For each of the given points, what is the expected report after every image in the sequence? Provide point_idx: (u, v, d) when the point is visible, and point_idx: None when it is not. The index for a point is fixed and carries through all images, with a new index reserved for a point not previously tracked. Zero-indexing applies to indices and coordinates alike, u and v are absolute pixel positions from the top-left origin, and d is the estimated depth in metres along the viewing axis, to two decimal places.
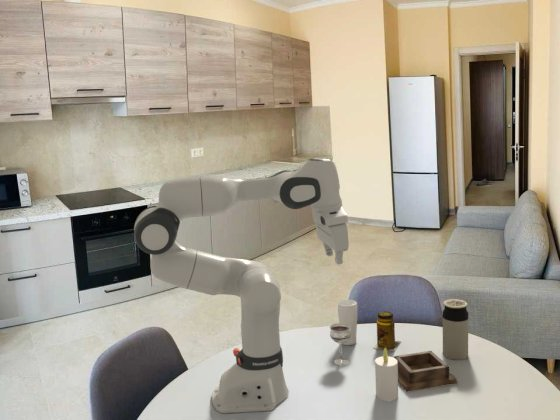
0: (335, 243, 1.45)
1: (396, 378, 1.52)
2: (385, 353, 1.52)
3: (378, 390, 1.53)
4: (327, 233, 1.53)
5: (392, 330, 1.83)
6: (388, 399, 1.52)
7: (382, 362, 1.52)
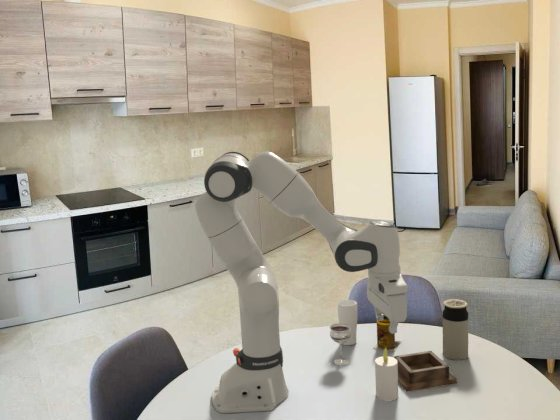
0: (393, 314, 1.40)
1: (396, 378, 1.52)
2: (385, 353, 1.52)
3: (378, 390, 1.53)
4: (383, 300, 1.47)
5: None
6: (388, 399, 1.52)
7: (382, 362, 1.52)
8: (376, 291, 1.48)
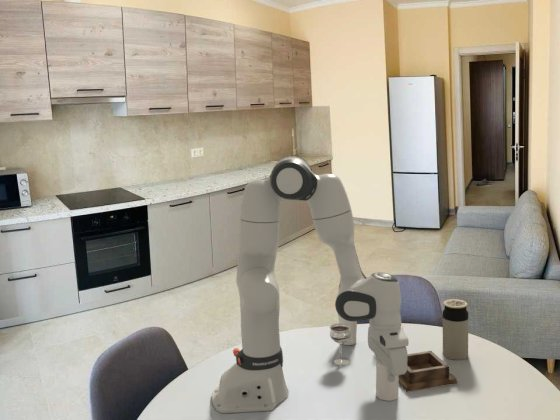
0: (394, 367, 1.43)
1: (397, 378, 1.52)
2: None
3: (378, 390, 1.53)
4: (383, 351, 1.50)
5: None
6: (388, 399, 1.52)
7: None
8: (377, 342, 1.50)
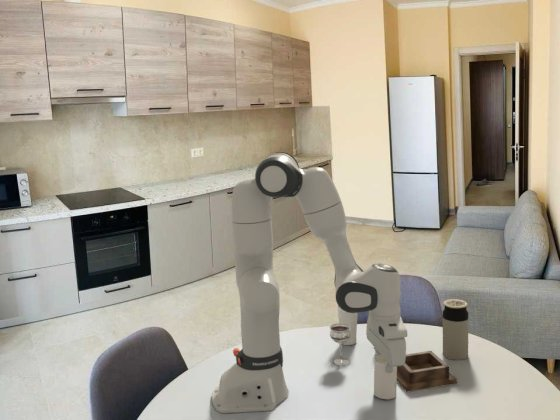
0: (392, 358, 1.42)
1: (395, 377, 1.52)
2: None
3: (376, 388, 1.53)
4: (382, 342, 1.50)
5: None
6: (386, 397, 1.52)
7: (381, 360, 1.52)
8: (376, 333, 1.50)
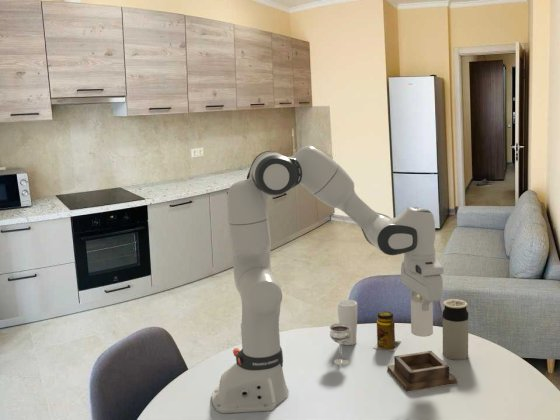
0: (430, 293, 1.49)
1: (431, 315, 1.59)
2: None
3: (413, 327, 1.60)
4: (418, 281, 1.56)
5: (392, 330, 1.83)
6: (424, 335, 1.59)
7: (418, 300, 1.59)
8: (412, 273, 1.57)
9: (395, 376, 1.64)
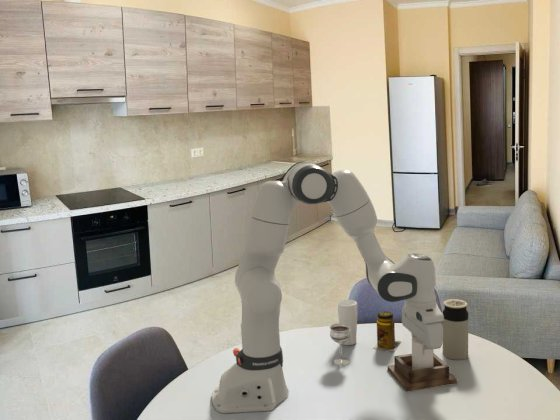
0: (430, 341, 1.52)
1: (432, 355, 1.61)
2: None
3: (414, 367, 1.62)
4: (419, 327, 1.59)
5: (392, 330, 1.83)
6: None
7: (418, 340, 1.61)
8: (413, 318, 1.59)
9: (395, 376, 1.64)
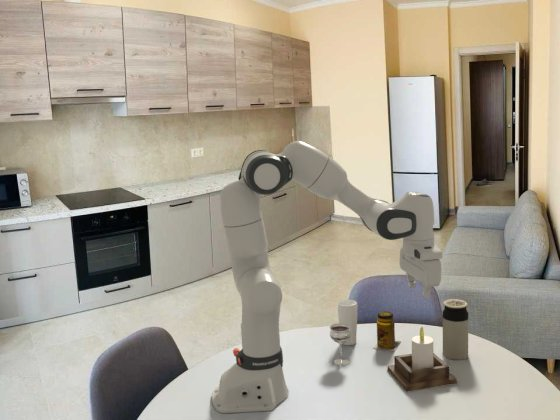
0: (428, 278, 1.49)
1: (432, 355, 1.61)
2: (421, 332, 1.61)
3: (414, 367, 1.62)
4: (417, 266, 1.56)
5: (392, 330, 1.83)
6: None
7: (418, 340, 1.61)
8: (411, 258, 1.56)
9: (395, 376, 1.64)
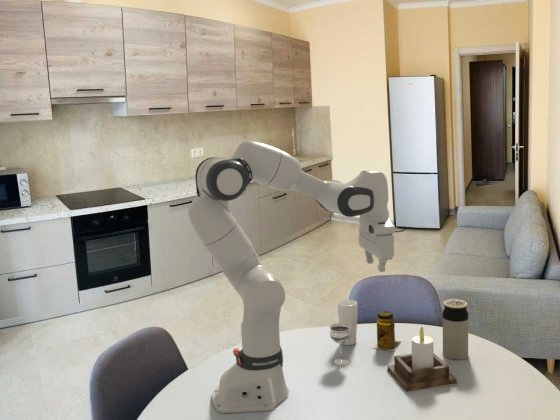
0: (382, 251, 1.55)
1: (432, 355, 1.61)
2: (421, 332, 1.61)
3: (414, 367, 1.62)
4: (372, 242, 1.62)
5: (392, 330, 1.83)
6: None
7: (418, 340, 1.61)
8: (366, 234, 1.63)
9: (395, 376, 1.64)
